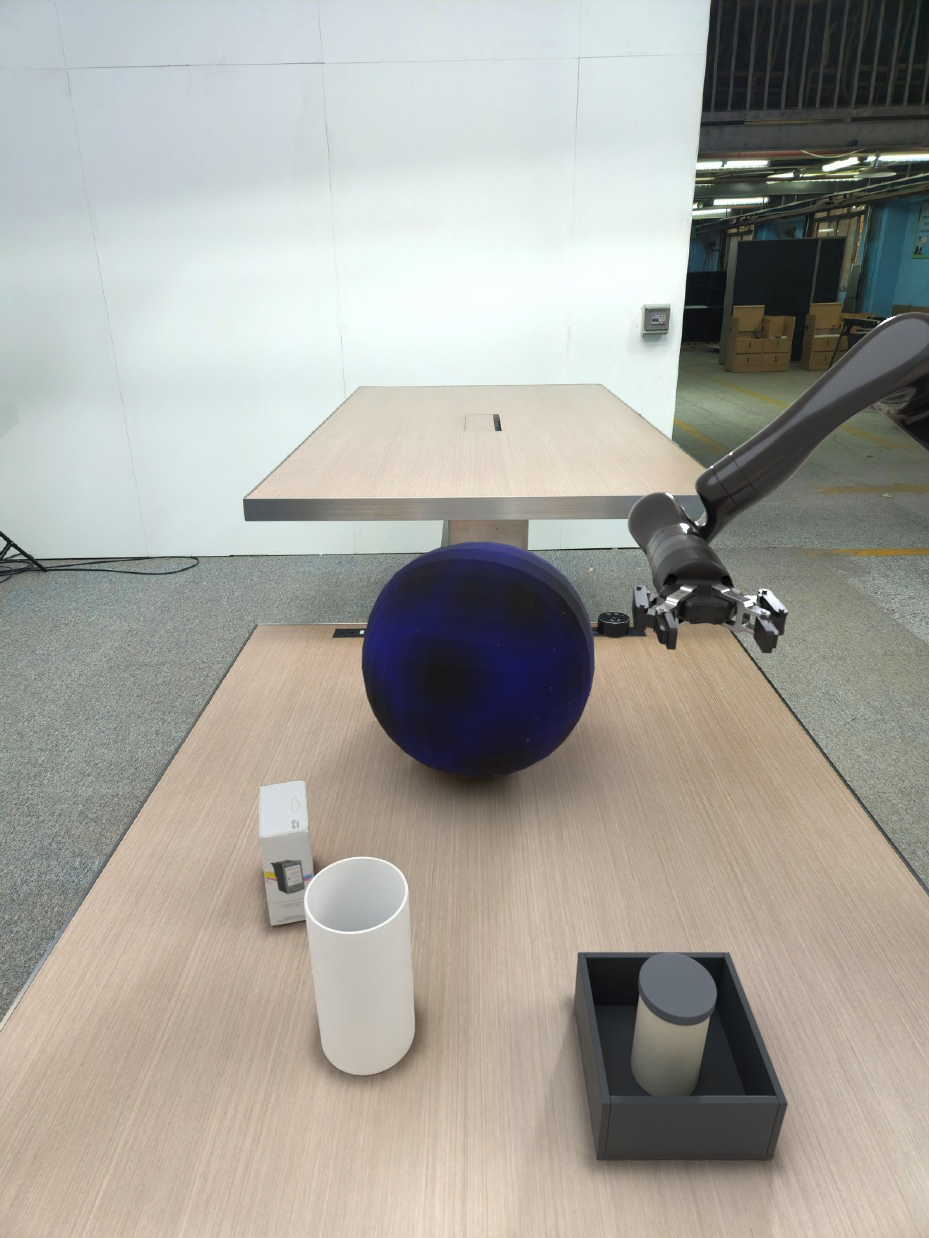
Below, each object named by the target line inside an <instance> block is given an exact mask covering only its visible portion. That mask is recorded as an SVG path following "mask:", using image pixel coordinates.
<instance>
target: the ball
mask: <svg viewBox="0 0 929 1238" xmlns="http://www.w3.org/2000/svg"><path fill="white" fill-rule="evenodd" d="M495 529H496V530H499V528H498V527H497V528H495ZM326 596H327V597H328V595H327V594H326ZM365 627H366V628H365V632H364V636H363V642H362V646H361V673H362V678H363V683H364V684H363V685H364V689H365V694H366V699H367V701H368V704H369V706H370V708H371V711H372V713H373V715H374V717H375V719H376V720H377V722H378V723H379V725H380V727H381V728H382V730H383V731H384V733H385V734H386V735H387V736H388V738H389V739H390V740H391V742H393V743H394V744H396V745H397V746H398V747H399V748H400V749H401V750H402V752H404V753H405V754H406V755H408V756H410V757H411V758H413V759H414V760H416V761H417V762H419V763H420V764H423V765H425V766H427V767H429V768H432V769H434V770H436V771H439V772H443V773H447V774H450V775H454V776H457V777H458V776H459V777H463V778H485V779H486V778H492V777H499V776H507V775H510V774H513V773H517V772H519V771H523V770H526V769H528V768H529V767H531V766H533V765H535V764H537V763H539V762H540V761H542V760H545V759H546V758H548V757H549V756H550V755H552V754H553V753H554V752H555V751H556V750H557V749H558V748H560V746H562V745H563V744H564V742H565V741H566V740H567V739H568V738H569V736H570V735H571V734H572V732H573V730H574V729H575V728H576V726H577V725H578V723H579V722H580V721H581V718H582V716H583V713H584V710H585V708H586V706H587V703H588V701H589V698H590V697H591V692H592V688H593V682H594V676H595V671H596V666H595V665H596V664H595V661H596V660H595V636H594V632H593V627H592V622H591V618H590V616H589V613H588V611H587V609H586V607H585V604H584V603H583V600H582V598H581V596H580V594H579V593H578V591H577V590H576V587H574V585H573V583H572V582H571V581H570V580H569V579H568V577H567V576H566V575H565V574H563V573H562V572H561V571H560V570H559V569H558V568H556V567H555V566H554V565H553V564H552V563H551V562H549V561H548V560H546V559H544V558H542V557H541V556H539V555H537V554H535V553H534V552H532V551H529V550H526V549H523V548H520V547H517V546H514V545H512V544H509V543H507V544H506V543H500V542H494V541H485V540H484V541H465V542H460V543H455V544H450V545H445V546H439V547H437V548H435V549H432V550H430V551H427V552H425V553H422V554H420V555H418V556H417V557H416V558H414V559H412V560H411V561H410V562H409V563H407V564H406V565H404V566H402V568H400V569H399V570H397V571H396V572H395V573H394V574H393V575H392V577H391V578H390V579H389V580H388V581H387V582H386V584H385V585H384V587H383V588H382V589H381V591H380V593H379V594H378V596H377V598H376V600H375V602H374V604H373V607H372V608H371V611H370V613H369V615H368V618H367V622H366V626H365ZM373 723H374V724H375V723H376V721H373ZM355 731H358V729H355ZM581 734H582V735H584V733H581Z"/></svg>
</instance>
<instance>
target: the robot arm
mask: <svg viewBox="0 0 929 1238" xmlns="http://www.w3.org/2000/svg"><path fill="white" fill-rule="evenodd" d="M870 407H873V408H874V410H875V411H877V413H879V414H880V415H881V416H882V417H884V418H885V419H887V420H888V421H889V422H890V423H891V424H893V425H894V426H896V427H897V428H898V429H899V430H901V431H902V432H903V434H904V433H905V435H907V436H908V437H909V438H910V439H911V440H912V441H914V442H915V443H916V444H918V445H919V447H921V448H922V449H923V450H924V451H926V452H927V453H928V454H929V313H926V312H921V311H909V312H905V313H899V314H897V315H895V316H893V317H892V316H891V317H890V318H887V319H886V320H884V321H882V322H881V323H879V324H878V325H876V326H875V327H874V328H873V329H871V330H870V331H869V332H868V333H866V334H865V335H864V336H863V337H862V338H861V339H859V340H858V341H857V342H856V343H855V344H854V345H853V346H852V347H851V348H850V349H849V350H848V351H846V353H844V355H842V356H841V357H840V358H839V359H838V360H837V361H836V362H835V363H834V364H833V365H832V366H831V367H830V368H829V369H828V370H827V371H826V372H825V373H824V374H822V375H821V376H820V377H819V378H818V379H817V380H816V381H815V382H814V383H812V384H811V385H810V386H809V388H807V389H806V390H805V391H804V392H803V393H802V394H801V395H800V396H798V398H796V399H795V400H794V401H793V402H792V403H791V404H790V405H789V406H788V407H787V408H786V409H784V410H783V411H782V412H781V413H780V414H778V416H776V417H775V418H774V419H773V420H772V421H771V422H770V423H768V424H767V425H765V427H763V428H762V429H761V430H760V431H758V432H757V433H755V434H754V435H753V436H751V437H750V438H749V439H748V440H746V441H745V442H744V443H742V444H741V445H739V446H738V447H736V448H735V449H734V450H732V451H731V452H729V453H728V454H727V455H725V456H723V458H721V459H720V460H718V461H717V462H715V463H714V464H713V465H710V467H708V468H707V469H706V470H704V471H703V472H701V473H700V474H699V475H698V476H697V477H696V479H695V481H694V488H695V492H696V495H697V497H698V499H699V501H700V503H701V505H702V507H703V514H702V515H701V516H700V518H699V519H697V520H696V521H695V519H693V518H692V517H691V515H690V514H689V513H688V511H687V510H686V508H685V507H684V506H683V505H682V504H681V503H680V502H679V501H678V499H677V498H676V497H675V496H674V495H672V494H670V493H668V492H665V491H654V492H651V493H648V494H645V495H644V496H641V498H640V499H638V500H636V502H635V503H634V505H633V506H632V508H631V509H630V511H629V514H628V517H627V529H628V532H629V534H630V535H631V537H632V538H633V540H634V541H635V543H636V544H637V545H638V547H639V549H640V550H641V551H642V552H643V554H644V556H645V558H647V561H648V565H649V568H650V570H651V582H652V585H653V587H654V588H655V591H656V593H655V592H651V591H650V590H647V588H646V587H645V585H641V584H637V585H633V589H632V601H631V616H632V623H633V629H634V630H635V631H639V632H643V631H646V630H647V628H648V629H652V630H653V631H652V632H653V633H654V634H655V635H656V638H657V641H658V643H659V644H661V645H665V647H666V650H668V651H669V650H670V651H672V650H673V651H675V650H676V649H677V642H678V632H679V631H678V630H679V629H681V628H683V627H684V626H685V625H700V624H708V625H713V626H719V627H722V628H724V629H727V630H729V631H731V632H733V633H736V634H740V633H743V632H745V633H747V634H748V635H751V636H752V638H753V639H754V641H755V643H756V645H757V647H758V648H759V650H760V651H761V653H762V654H772V653H773V649H777V646H778V641H779V637H781V636H784V635H785V629H786V628H785V627H786V622H787V617H788V614H789V610H788V609H787V608H786V607H785V605H784V604H783V603H782V602H781V601H780V599H778V597H777V596H776V595H775V594H774V592H772V591H771V590H770V589H768V588H759V589H758V591H757V594H756V595H745V594H744V593H743V592H742V591H740V590H738V589H736V588H735V586H734V582H733V579H732V576H731V574H730V573H729V571H728V570H727V568H726V566H725V565H724V563H723V561H722V559H720V557H719V556H718V554H717V552H716V551H715V549H713V547H712V546H710V545H711V543H713V542H714V540H715V539H716V538H717V537H718V536H719V535H720V534H721V533H722V532H723V531H724V530H725V529H726V528H727V527H728V526H729V525H731V523H732V522H733V521H734V520H736V519H737V518H738V517H740V516H741V515H742V514H744V513H745V512H747V511H748V510H751V508H754V507H755V506H756V505H758V504H759V503H760V502H762V501H763V500H765V499H767V498H768V497H769V496H771V495H772V494H774V493H775V492H776V491H778V490H779V489H781V488H782V487H783V486H784V485H785V484H786V483H787V482H789V480H791V479H792V478H793V477H794V476H795V474H796V473H798V471H799V470H800V469H801V468H802V467H803V465H804V464H805V463H806V462H807V461H808V460H809V459H810V457H811V456H812V455H813V453H814V452H815V451H816V450H817V449H818V448H819V447H820V446H821V444H823V442H825V441H826V440H827V438H829V437H830V436H831V435H832V434H833V433H834V432H835V431H836V430H837V429H839V428H840V427H841V426H842V425H844V424H845V423H846V422H848V421H849V420H851V419H852V418H854V417H855V416H857V415H858V414H860V413H861V412H863V411H865V410H867V409H869V408H870ZM654 606H657V607H655V609H653V607H654ZM751 616H753V617H754V618H755V620H754V624H753V623H751ZM734 618H735V620H733V619H734Z"/></svg>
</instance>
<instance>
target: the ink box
mask: <svg viewBox="0 0 929 1238" xmlns="http://www.w3.org/2000/svg"><path fill="white" fill-rule="evenodd" d="M258 791H259V792H258V795H259V796H258V837H259V838H258V839H259V846H260V853H261V862H262V870H263V877H264V884H265V885H264V886H265V893H266V901H267V908H268V917H269V924H270V926H281V925H285V924H290V923H297V922H302V921H306V916H305V908H304V897H305V892H306V889H307V887H308V885H309V883H310V882H311V880H312V879H313V878H314V877H315V872H314V859H313V849H312V840H311V839H312V838H311V827H310V818H309V807H308V799H307V798H308V797H307V788H306V781H305V780H303V779H302V780H301V779H300V780H292V781H286V782H281V783H271V784H265V785H260V786H259V790H258Z"/></svg>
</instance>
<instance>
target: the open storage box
mask: <svg viewBox="0 0 929 1238" xmlns="http://www.w3.org/2000/svg"><path fill="white" fill-rule="evenodd" d="M662 953H675V954H680V955H684V956H687V957H689V958H691V959H693V960H695V961H697V962H698V963H699V964H701V965H702V966H703V967H704V968H705V969H706V970H707V971H708V972H709V974H710V975H711V976H712V978H713V980H714V982H715V985H716V989H717V998H716V1003H715V1008H714V1010H713V1013H712V1014H711V1016H710V1019H709V1024H708V1030H707V1035H706V1040H705V1045H704V1051H703V1056H702V1061H701V1066H700V1072H699V1077H698V1082H697V1085H696V1088H695V1090H694V1091H693V1092H692V1093H691V1094H690V1095H689V1096H652V1095H651V1094H649V1093H648V1092H646V1091H645V1090H644V1089H643V1088H642V1087H641V1086H640V1085H639V1083H638V1082H637V1081H636V1079H635V1077H634V1075H633V1072H632V1069H631V1055H632V1048H633V1040H634V1032H635V1025H636V1017H637V1009H638V1002H639V989H638V981H639V974H640V970H641V967H642V966H643V964H644V963H645V962H646V961H647V960H648V959H649V958H651V957H653V956H655V955H658V954H662ZM574 986H575V987H574V999H573V1009H574V1015H575V1020H576V1028H577V1029H576V1030H577V1035H578V1042H579V1048H580V1056H581V1063H582V1070H583V1076H584V1077H583V1078H584V1082H585V1083H584V1084H585V1091H586V1097H587V1104H588V1111H589V1117H590V1124H591V1125H590V1126H591V1131H592V1139H593V1146H594V1152H595V1159H596V1160H602V1161H604V1160H611V1161H612V1160H613V1161H614V1160H615V1161H617V1160H620V1161H622V1160H625V1161H626V1160H627V1161H628V1160H632V1161H634V1160H639V1161H641V1160H642V1161H643V1160H644V1161H645V1160H650V1161H653V1160H654V1161H655V1160H656V1161H658V1160H659V1161H661V1160H662V1161H665V1160H666V1161H669V1160H670V1161H671V1160H672V1161H676V1160H677V1161H679V1160H680V1161H681V1160H683V1161H687V1160H688V1161H691V1160H693V1161H694V1160H695V1161H697V1160H698V1161H702V1160H703V1161H705V1160H706V1161H707V1160H709V1161H710V1160H711V1161H717V1160H718V1161H732V1160H733V1161H739V1160H740V1161H742V1160H744V1161H772V1160H773V1159H774V1156H775V1152H776V1148H777V1145H778V1141H779V1137H780V1134H781V1131H782V1127H783V1122H784V1120H785V1115H786V1113H787V1112H786V1111H787V1108H788V1105H789V1104H788V1103H789V1102H788V1100H787V1098H786V1095H785V1093H784V1090H783V1088H782V1086H781V1083H780V1080H779V1077H778V1074H777V1071H776V1069H775V1068H774V1065H773V1062H772V1059H771V1056H770V1054H769V1052H768V1049H767V1046H766V1044H765V1042H764V1039H763V1036H762V1034H761V1031H760V1028H759V1026H758V1023H757V1020H756V1018H755V1016H754V1013H753V1010H752V1007H751V1005H750V1002H749V999H748V997H747V995H746V992H745V989H744V987H743V984H742V982H741V979H740V976H739V974H738V971H737V969H736V966H735V963H734V961H733V958H732V956H731V953H730V952H729V951H723V952H722V951H585V952H584V951H578V952H577V963H576V973H575V985H574Z"/></svg>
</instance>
